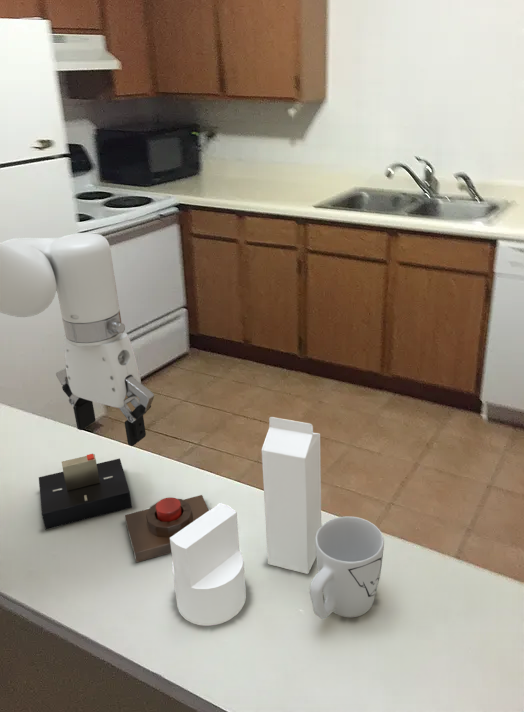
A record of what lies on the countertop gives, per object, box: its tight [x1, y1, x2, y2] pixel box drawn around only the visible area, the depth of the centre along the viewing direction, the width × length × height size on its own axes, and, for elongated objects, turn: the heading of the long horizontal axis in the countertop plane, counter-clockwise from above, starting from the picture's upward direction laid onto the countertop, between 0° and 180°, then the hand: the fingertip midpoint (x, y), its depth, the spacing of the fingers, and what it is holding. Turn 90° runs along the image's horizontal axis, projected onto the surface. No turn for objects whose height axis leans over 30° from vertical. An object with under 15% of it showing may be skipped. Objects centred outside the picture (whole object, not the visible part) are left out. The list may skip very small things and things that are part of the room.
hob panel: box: [38, 458, 133, 531], centre depth 106 cm, size 13×10×3 cm
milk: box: [261, 416, 322, 575], centre depth 89 cm, size 6×6×22 cm
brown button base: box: [124, 494, 210, 563], centre depth 99 cm, size 12×9×4 cm
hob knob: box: [61, 453, 100, 491], centre depth 105 cm, size 5×2×5 cm, turn 112°
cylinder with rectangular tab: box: [170, 502, 247, 627], centre depth 85 cm, size 9×9×12 cm
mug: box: [309, 515, 385, 620], centre depth 83 cm, size 11×8×10 cm
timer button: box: [155, 497, 182, 522], centre depth 98 cm, size 4×4×2 cm
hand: (111, 433), depth 98 cm, fingers open, 9 cm apart
